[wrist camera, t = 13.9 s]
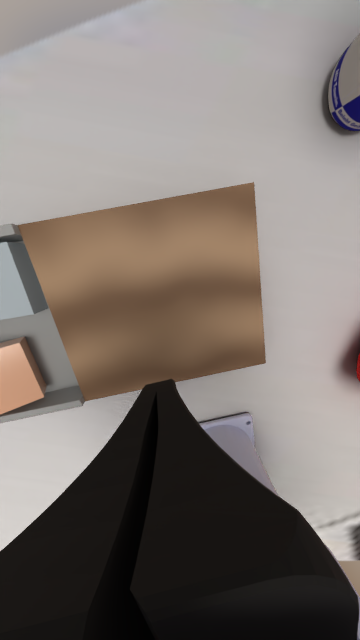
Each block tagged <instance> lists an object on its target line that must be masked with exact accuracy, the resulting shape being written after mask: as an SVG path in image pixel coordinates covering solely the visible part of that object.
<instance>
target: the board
mask: <svg viewBox="0 0 360 640" xmlns="http://www.w3.org/2000/svg"><path fill="white" fill-rule="evenodd" d="M18 228H19V231H20V233H21V236H22V238H23V241H24V244H25V246H26V249H27V251H28V254H29V257H30V259H31V262H32V264H33V267H34V270H35V272H36V275H37V277H38V280H39V283H40V285H41V288H42V291H43V293H44V296H45V298H46V301H47V304H48V306H49V309H50V311H51V314H52V317H53V319H54V322H55V324H56V327H57V330H58V332H59V335H60V337H61V340H62V343H63V345H64V348H65V350H66V353H67V356H68V358H69V361H70V364H71V366H72V369H73V371H74V374H75V377H76V379H77V382H78V384H79V387H80V390H81V392H82V395H83V397H84V400H85V401H88V400H93V399H98V398H103V397H107V396H112V395H117V394H122V393H126V392H131V391H136V390H140V389H143V388H144V386H145V385H147V384H151V383H155V382H160V381H164V380H168V379H173V380H174V381H175V382H178V381H183V380H188V379H193V378H197V377H202V376H207V375H212V374H216V373H221V372H226V371H231V370H235V369H240V368H245V367H250V366H254V365H259V364H264V363H266V360H265V345H264V330H263V314H262V299H261V283H260V268H259V253H258V237H257V222H256V206H255V191H254V182H253V183H248V184H242V185H237V186H231V187H226V188H220V189H215V190H209V191H204V192H198V193H193V194H187V195H182V196H176V197H171V198H165V199H160V200H154V201H149V202H143V203H138V204H132V205H127V206H121V207H116V208H110V209H105V210H99V211H94V212H88V213H83V214H77V215H72V216H66V217H61V218H55V219H50V220H44V221H39V222H33V223H28V224H22V225H18Z"/></svg>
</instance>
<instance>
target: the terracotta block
mask: <svg viewBox="0 0 360 640" xmlns="http://www.w3.org/2000/svg"><path fill="white" fill-rule="evenodd" d="M46 387H47V386H46V383H45V381H44V379H43V377H42V374H41V372H40V370H39V368H38V365H37V363H36V361H35V359H34V356H33V354H32V352H31V350H30V347H29V345H28V343H27V340H26V338H25V336H24V337H20V338H16V339H13V340H9V341H6V342H2V343H0V414H3V413H5V412H8V411H11V410H13V409H16V408H18V407H21V406H23V405H26V404H28V403H31V402H33V401H36V400H38V399H41V398H43V397H44V396H45V392H46Z"/></svg>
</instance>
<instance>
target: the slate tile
mask: <svg viewBox="0 0 360 640" xmlns="http://www.w3.org/2000/svg"><path fill="white" fill-rule="evenodd" d="M45 309H48V305H47V302H46V299H45V297H44V294H43V291H42V288H41V285H40V283H39V280H38V277H37V275H36V272H35V270H34V267H33V264H32V262H31V259H30V257H29V254H28V251H27V249H26V246H25V244H21V243H13V242H2V243H0V320H3V319H9V318H15V317H21V316H27V315H33V314H36V313H38V312H41V311H43V310H45Z"/></svg>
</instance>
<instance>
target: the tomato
mask: <svg viewBox="0 0 360 640" xmlns="http://www.w3.org/2000/svg"><path fill="white" fill-rule="evenodd" d="M356 371H357V378H358V380H359V381H360V354H359V356H358V362H357V370H356Z"/></svg>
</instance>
